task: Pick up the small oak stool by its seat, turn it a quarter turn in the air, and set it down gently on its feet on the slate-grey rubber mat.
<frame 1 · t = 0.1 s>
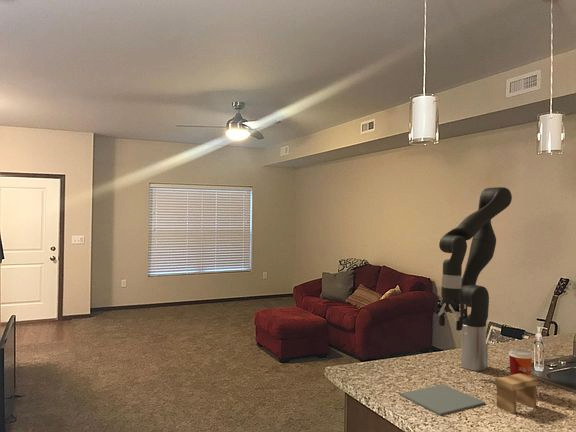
hand: (450, 328, 180), 17 cm above the countertop, tool pointing down, fingers open, 8 cm apart
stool: (516, 407, 146), on the countertop
paper cup: (520, 392, 160), on the countertop
mat: (441, 399, 152), on the countertop
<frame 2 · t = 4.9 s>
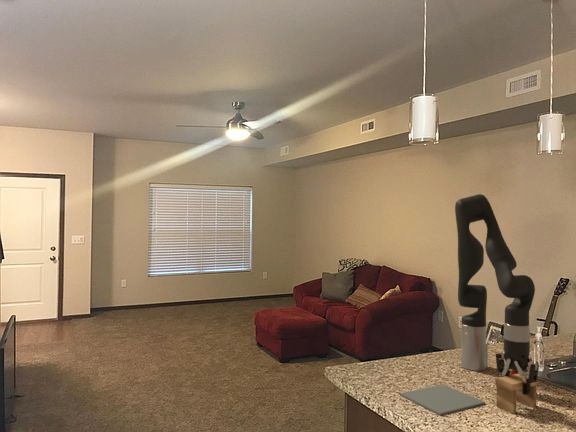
hand: (516, 390, 146), 5 cm above the countertop, tool pointing down, fingers closed on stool, 6 cm apart
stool: (516, 406, 146), on the countertop, touching gripper
everything else where it was.
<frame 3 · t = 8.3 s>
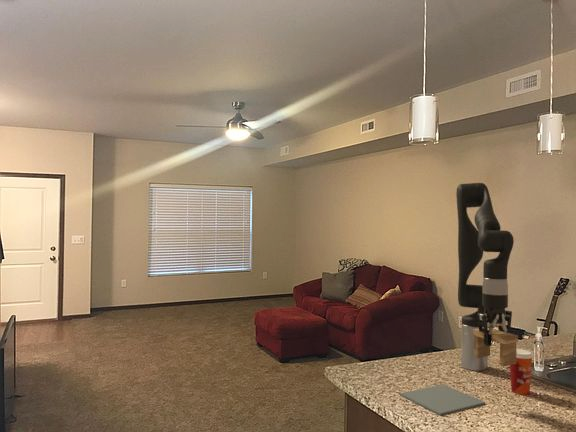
hand: (494, 344, 148), 19 cm above the countertop, tool pointing down, fingers closed on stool, 6 cm apart
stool: (494, 360, 148), point 14 cm above the countertop, touching gripper
everything else where it was.
when the fingers open (7 cm above the countertop, at t = 12.1 s): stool drops 1 cm, resting on mat.
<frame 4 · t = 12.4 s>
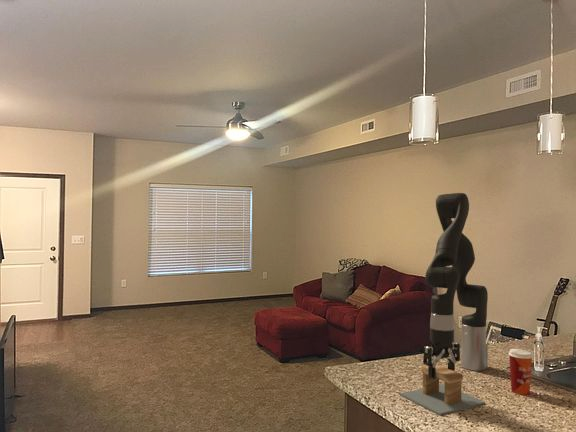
hand: (441, 376, 152), 8 cm above the countertop, tool pointing down, fingers open, 8 cm apart
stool: (441, 397, 152), point 1 cm above the countertop, touching mat
everything else where it was.
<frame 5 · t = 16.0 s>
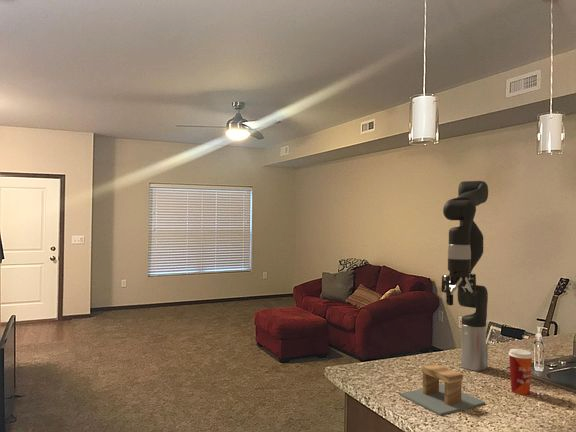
hand: (458, 304, 160), 30 cm above the countertop, tool pointing down, fingers open, 8 cm apart
nothing on the countertop moved.
at the end: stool inside the target area on the mat (0.1 cm from its centre), point 0.6 cm above the mat's base; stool tilted 0°; the gripper is holding nothing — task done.
